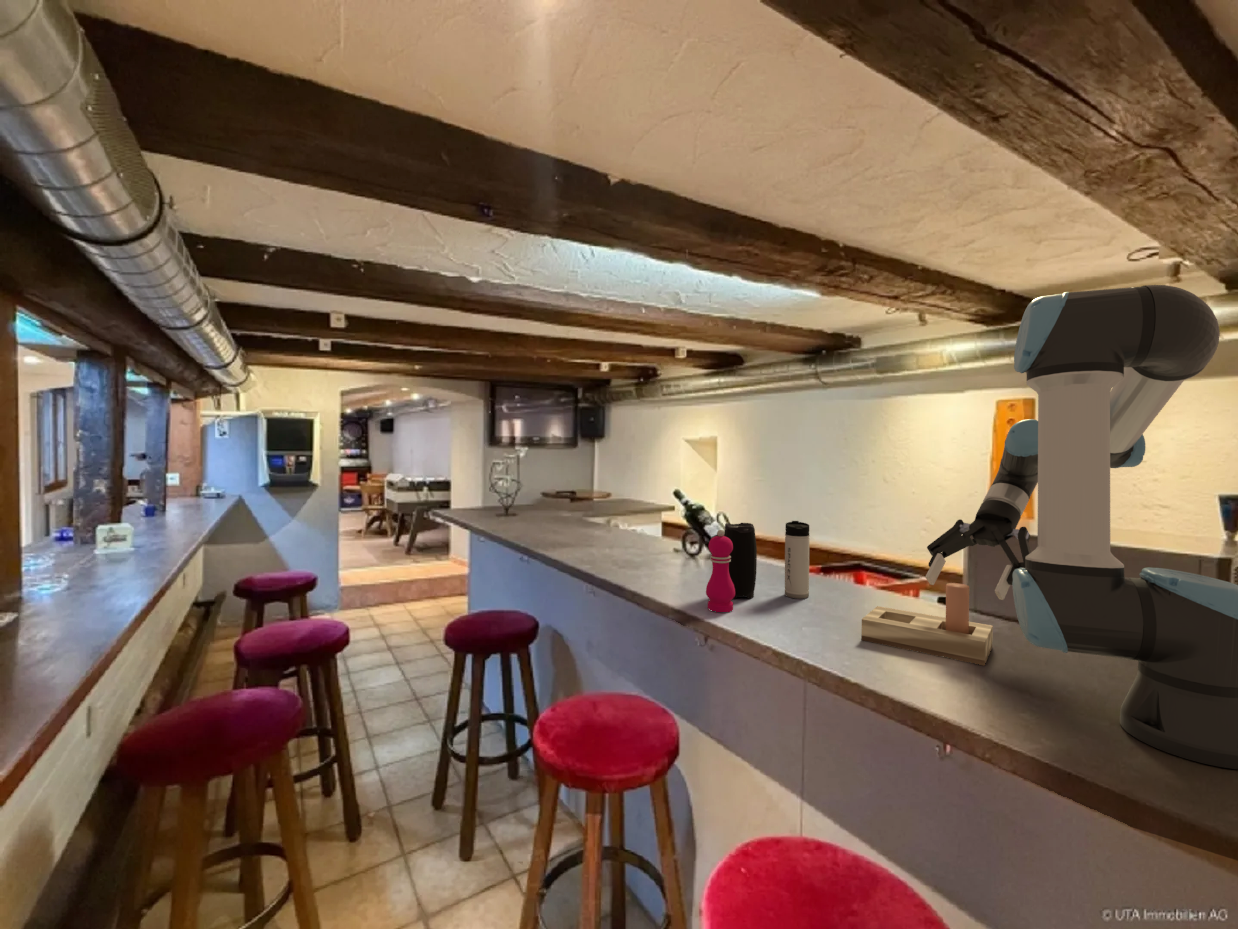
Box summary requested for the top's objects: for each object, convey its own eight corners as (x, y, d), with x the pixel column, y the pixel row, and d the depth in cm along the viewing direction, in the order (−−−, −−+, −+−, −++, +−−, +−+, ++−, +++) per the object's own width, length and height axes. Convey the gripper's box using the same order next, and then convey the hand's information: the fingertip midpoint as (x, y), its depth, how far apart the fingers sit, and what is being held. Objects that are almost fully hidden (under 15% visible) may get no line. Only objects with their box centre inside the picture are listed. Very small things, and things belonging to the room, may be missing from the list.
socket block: (984, 665, 106) (985, 642, 106) (861, 640, 120) (861, 619, 120) (992, 647, 116) (992, 625, 115) (877, 625, 129) (877, 606, 129)
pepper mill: (735, 614, 138) (735, 532, 137) (705, 612, 139) (705, 531, 139) (735, 606, 145) (735, 527, 144) (706, 604, 146) (706, 527, 146)
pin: (966, 650, 112) (967, 589, 111) (943, 645, 114) (944, 586, 113) (970, 643, 115) (970, 585, 114) (947, 639, 117) (948, 582, 116)
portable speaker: (715, 596, 154) (715, 524, 154) (737, 590, 161) (737, 521, 160) (741, 602, 148) (741, 527, 147) (762, 596, 154) (763, 524, 153)
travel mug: (805, 592, 158) (806, 520, 157) (811, 599, 151) (812, 524, 150) (782, 592, 158) (783, 520, 157) (787, 598, 152) (787, 524, 151)
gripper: (1076, 528, 114) (1038, 614, 106) (949, 514, 135) (910, 586, 128) (1065, 503, 111) (1025, 590, 103) (937, 493, 132) (897, 565, 125)
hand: (962, 588), depth 116 cm, fingers open, 13 cm apart
